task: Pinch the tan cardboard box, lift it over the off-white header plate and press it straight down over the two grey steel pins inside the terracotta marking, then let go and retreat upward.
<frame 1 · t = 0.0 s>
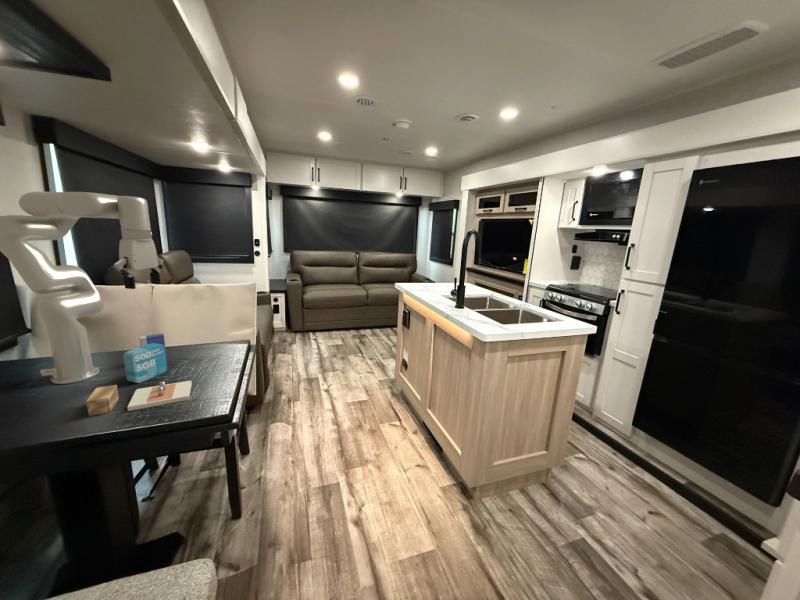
hand: (143, 286, 105), 37 cm above the table, tool pointing down, fingers open, 9 cm apart
tan cardboard box: (104, 406, 98), on the table
data package: (148, 377, 118), on the table
walkman: (155, 361, 131), on the table
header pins: (161, 388, 105), on the header plate, point 2 cm above the table
header plate: (162, 396, 106), on the table
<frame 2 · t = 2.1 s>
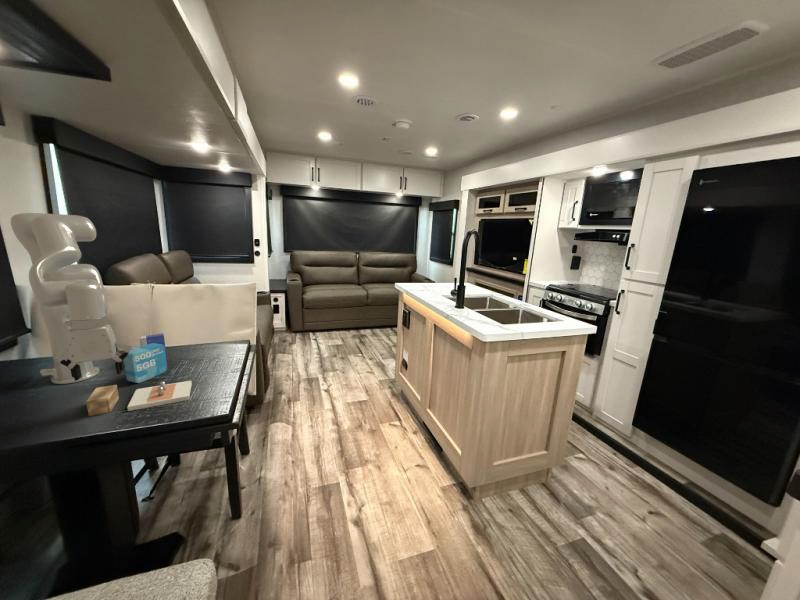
hand: (99, 375, 95), 11 cm above the table, tool pointing down, fingers open, 9 cm apart
nothing on the table moved.
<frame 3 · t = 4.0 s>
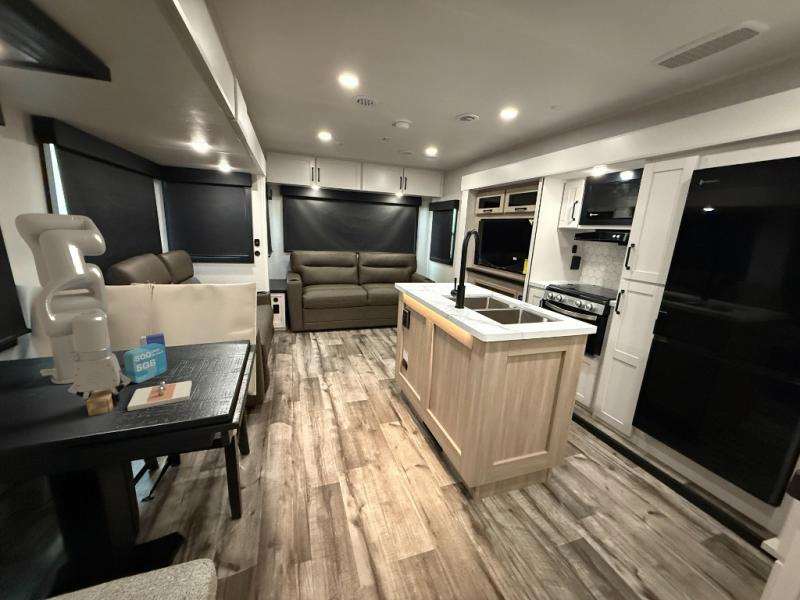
hand: (104, 405, 98), 0 cm above the table, tool pointing down, fingers closed on tan cardboard box, 5 cm apart
tan cardboard box: (104, 406, 98), on the table, touching gripper
everything else where it was.
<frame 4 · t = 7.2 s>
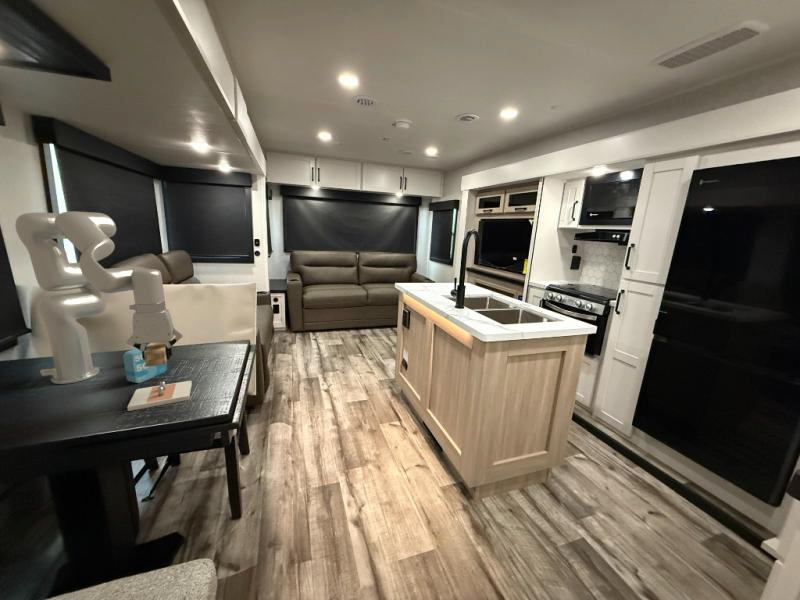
hand: (158, 359, 102), 14 cm above the table, tool pointing down, fingers closed on tan cardboard box, 5 cm apart
tan cardboard box: (158, 360, 103), point 14 cm above the table, touching gripper
everything else where it was.
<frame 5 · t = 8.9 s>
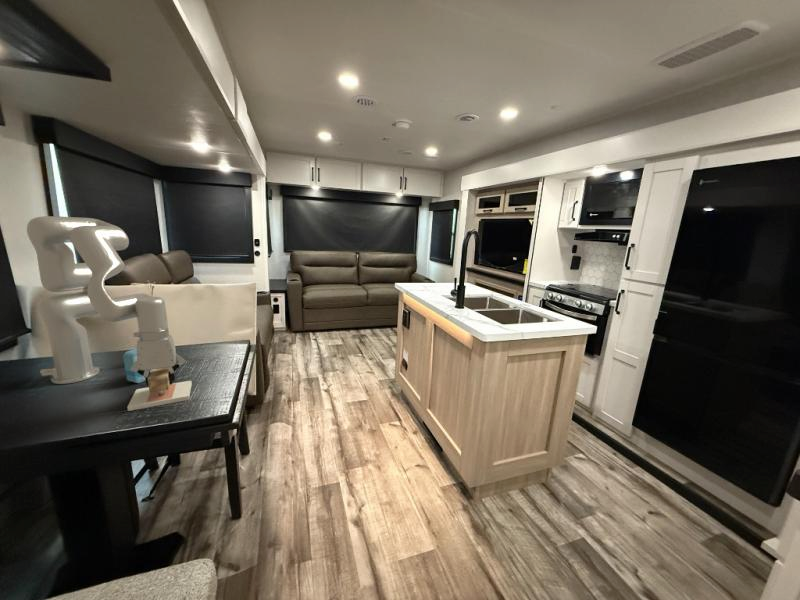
hand: (161, 383, 105), 5 cm above the table, tool pointing down, fingers closed on tan cardboard box, 5 cm apart
tan cardboard box: (161, 385, 105), point 4 cm above the table, touching gripper
everything else where it was.
when the fingers open (2 cm above the table, at t = 10.2 s): tan cardboard box stays where it is, resting on header plate.
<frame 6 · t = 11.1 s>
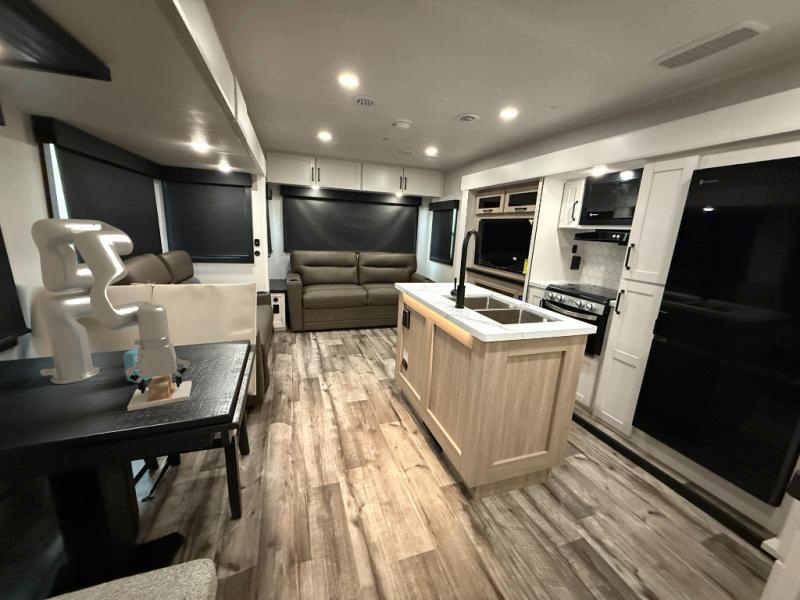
hand: (161, 388, 105), 3 cm above the table, tool pointing down, fingers open, 9 cm apart
tan cardboard box: (161, 392, 105), point 2 cm above the table, touching header plate
everything else where it was.
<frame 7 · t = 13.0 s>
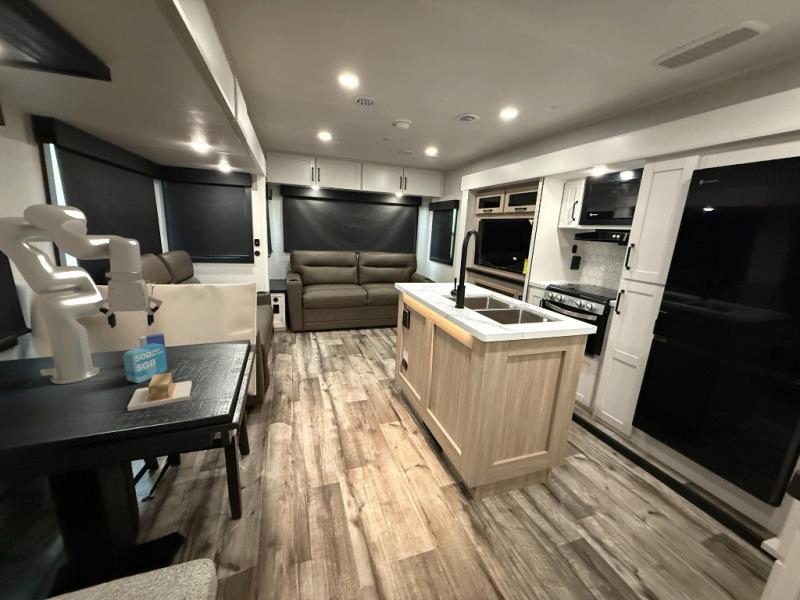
hand: (132, 325, 104), 24 cm above the table, tool pointing down, fingers open, 9 cm apart
nothing on the table moved.
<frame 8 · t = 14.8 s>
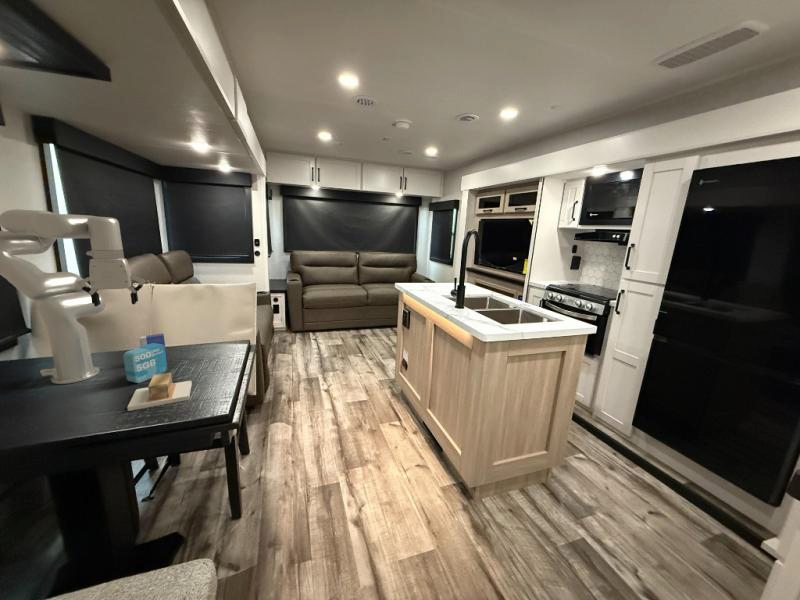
hand: (116, 304, 106), 30 cm above the table, tool pointing down, fingers open, 9 cm apart
nothing on the table moved.
at the end: tan cardboard box 0.0 cm off-centre on the header plate, point 1.6 cm above the header plate's base; tan cardboard box tilted 0°; the gripper is holding nothing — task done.
